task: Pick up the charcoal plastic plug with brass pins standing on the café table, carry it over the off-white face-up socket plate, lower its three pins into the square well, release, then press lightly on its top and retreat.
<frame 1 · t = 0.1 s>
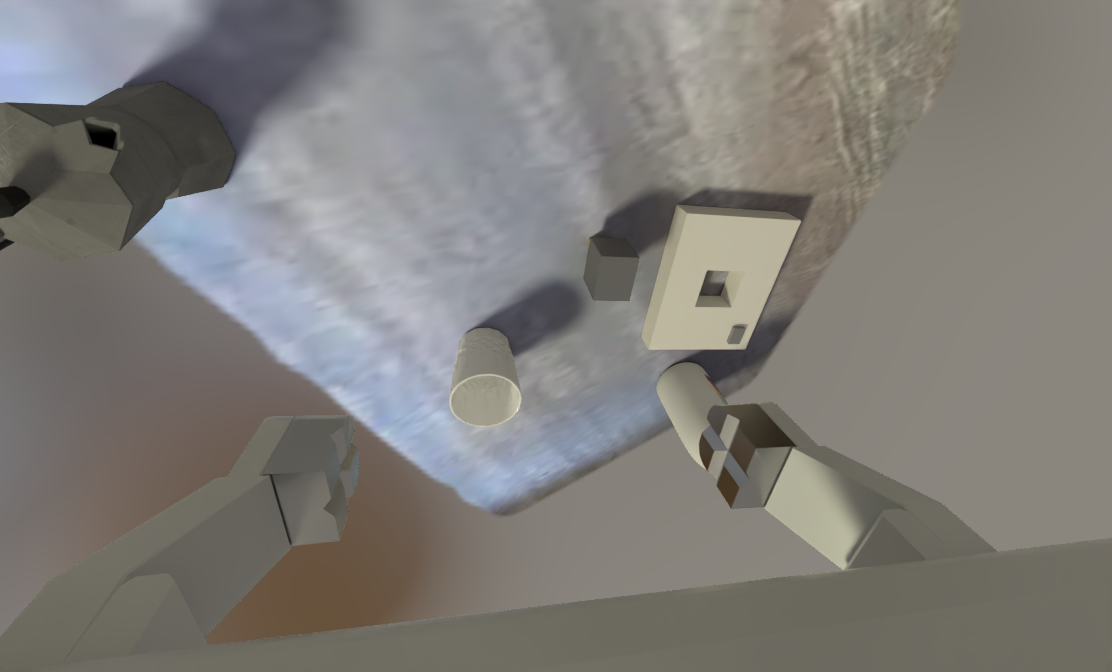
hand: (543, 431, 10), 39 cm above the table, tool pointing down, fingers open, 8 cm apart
coffeepot: (169, 146, 38), on the table
white cup: (484, 347, 56), on the table
socket: (708, 278, 55), on the table
plug: (599, 251, 50), on the table
milk bottle: (679, 379, 65), on the table
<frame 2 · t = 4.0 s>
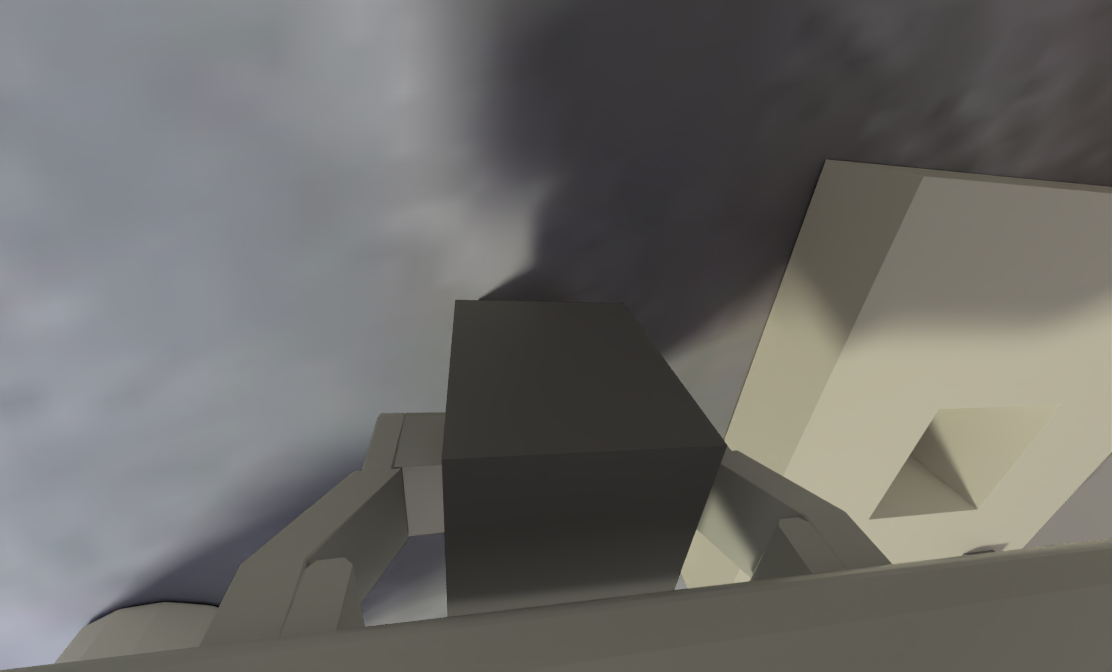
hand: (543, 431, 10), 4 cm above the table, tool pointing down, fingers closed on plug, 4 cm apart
white cup: (184, 644, 17), on the table
socket: (888, 410, 18), on the table
plug: (525, 347, 13), on the table, touching gripper
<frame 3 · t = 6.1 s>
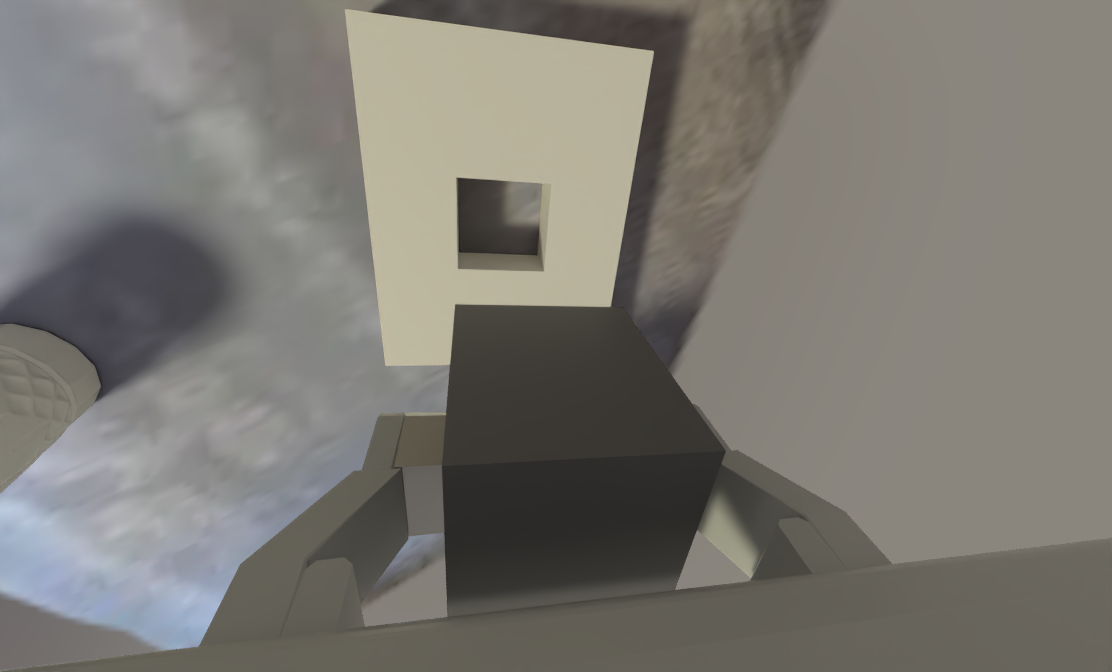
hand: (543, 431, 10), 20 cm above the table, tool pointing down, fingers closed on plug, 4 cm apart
white cup: (36, 369, 27), on the table
socket: (500, 214, 26), on the table
plug: (525, 350, 13), point 16 cm above the table, touching gripper
when the fingers open (5 cm above the table, at t = 8.7 s): plug drops 1 cm, resting on socket.
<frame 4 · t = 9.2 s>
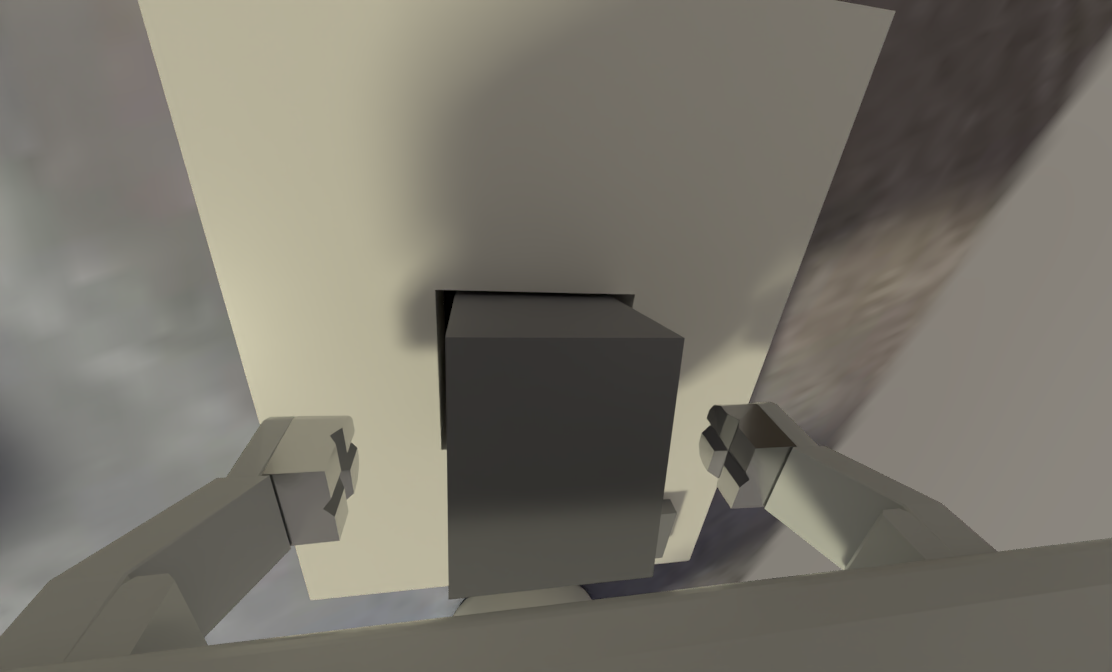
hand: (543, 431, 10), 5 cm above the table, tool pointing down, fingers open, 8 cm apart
socket: (521, 326, 14), on the table
plug: (520, 352, 14), resting in socket, tilted 13°
milk bottle: (521, 611, 23), on the table
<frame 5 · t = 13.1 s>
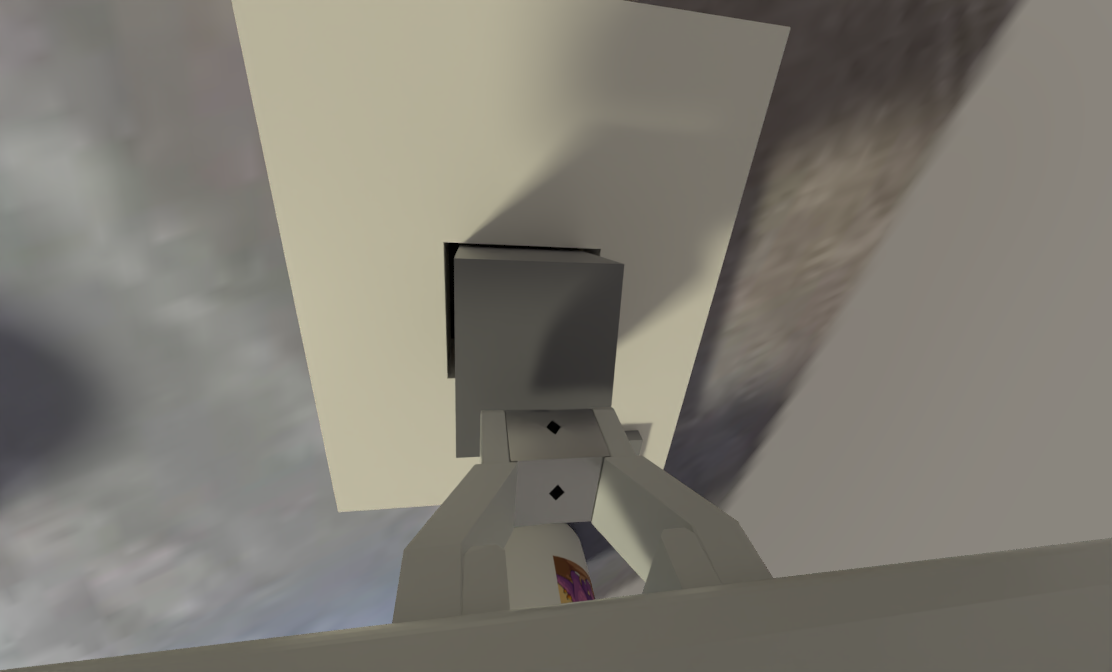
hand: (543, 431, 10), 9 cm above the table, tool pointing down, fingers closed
socket: (513, 284, 17), on the table
plug: (512, 305, 17), resting in socket, tilted 13°
milk bottle: (516, 548, 26), on the table
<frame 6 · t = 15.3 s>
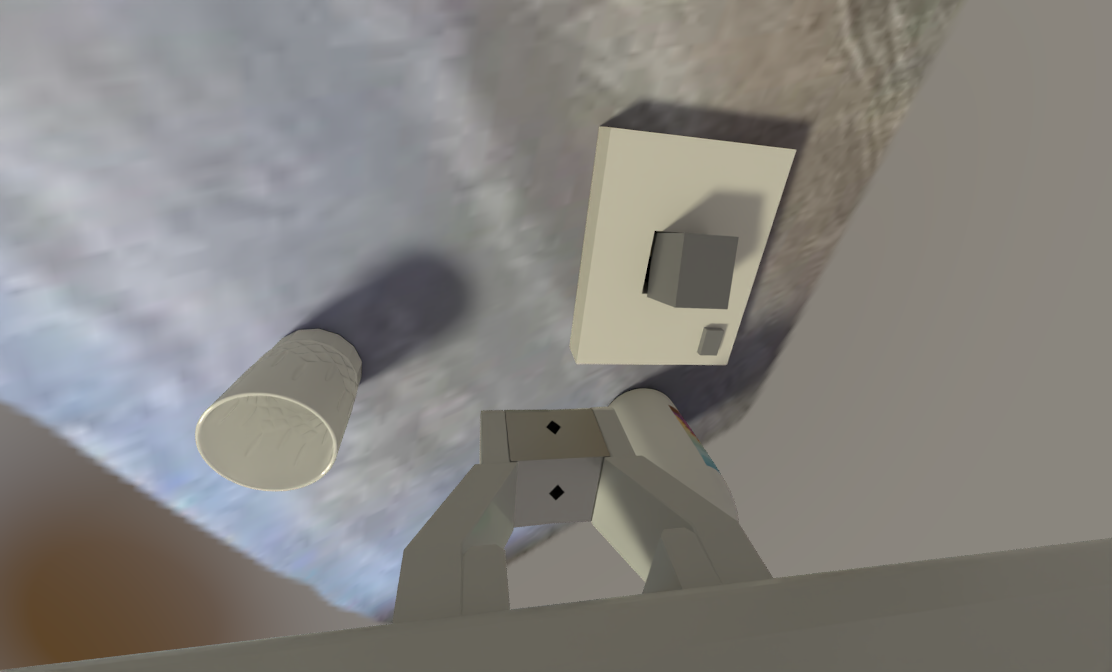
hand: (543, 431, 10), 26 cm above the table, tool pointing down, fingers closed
white cup: (320, 362, 36), on the table
socket: (663, 254, 36), on the table
plug: (662, 264, 36), resting in socket, tilted 13°
milk bottle: (635, 416, 44), on the table
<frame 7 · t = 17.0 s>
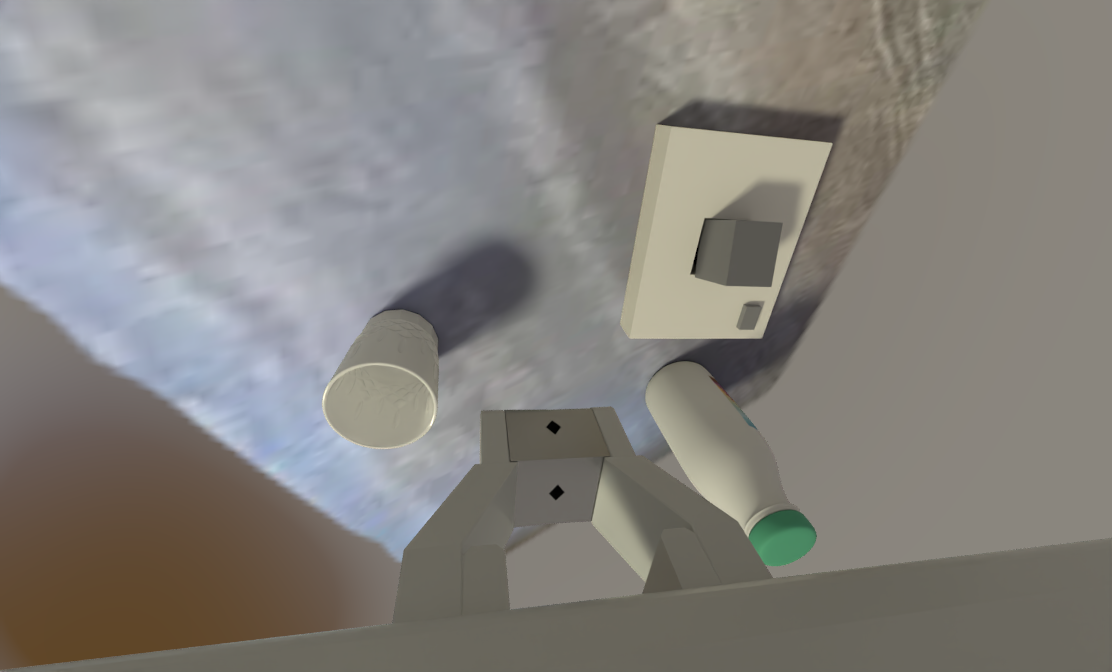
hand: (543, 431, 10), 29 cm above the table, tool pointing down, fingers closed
white cup: (401, 340, 40), on the table
socket: (707, 238, 40), on the table
plug: (706, 248, 40), resting in socket, tilted 13°
milk bottle: (675, 386, 49), on the table
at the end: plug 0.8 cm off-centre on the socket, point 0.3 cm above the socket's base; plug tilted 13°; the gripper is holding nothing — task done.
